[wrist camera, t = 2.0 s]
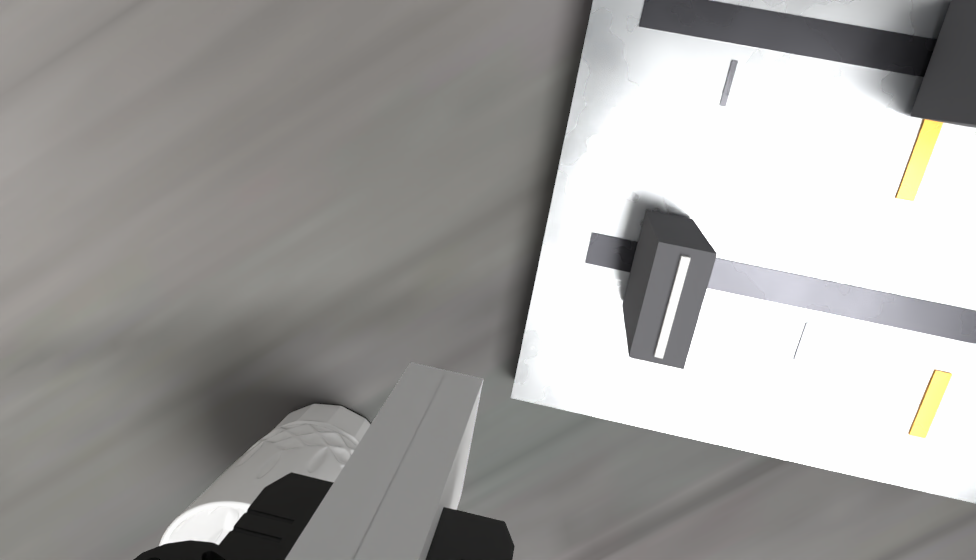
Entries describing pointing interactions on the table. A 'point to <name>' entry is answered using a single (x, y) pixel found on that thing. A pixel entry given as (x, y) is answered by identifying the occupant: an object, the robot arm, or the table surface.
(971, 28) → the fader
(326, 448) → the white cup
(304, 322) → the table surface
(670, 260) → the fader tab
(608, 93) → the console
